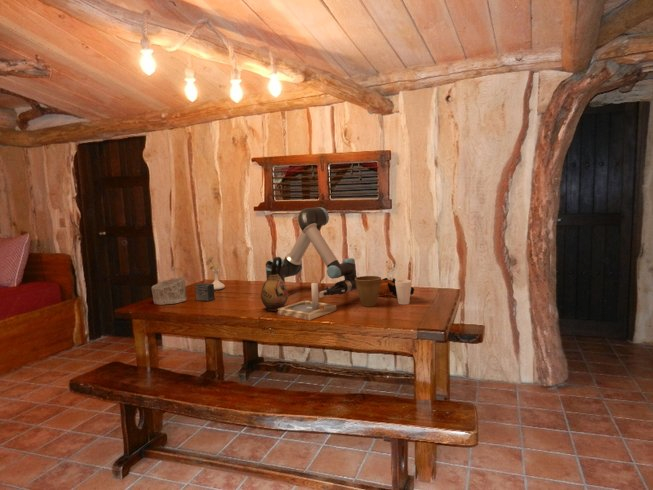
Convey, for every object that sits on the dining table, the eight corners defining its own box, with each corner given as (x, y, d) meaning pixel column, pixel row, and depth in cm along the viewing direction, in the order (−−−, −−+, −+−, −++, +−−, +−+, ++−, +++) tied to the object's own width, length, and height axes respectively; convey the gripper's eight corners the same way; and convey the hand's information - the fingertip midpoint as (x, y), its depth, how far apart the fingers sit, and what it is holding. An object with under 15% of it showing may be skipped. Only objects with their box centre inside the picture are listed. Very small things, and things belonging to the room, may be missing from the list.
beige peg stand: (287, 313, 244) (285, 284, 242) (303, 306, 257) (301, 279, 256) (311, 316, 236) (310, 286, 234) (327, 309, 249) (325, 281, 248)
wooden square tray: (277, 314, 245) (277, 305, 244) (305, 305, 263) (304, 296, 262) (309, 320, 231) (309, 310, 230) (336, 310, 249) (336, 301, 248)
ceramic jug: (277, 313, 246) (274, 259, 243) (256, 310, 254) (253, 258, 251) (295, 306, 260) (293, 255, 257) (274, 304, 268) (272, 254, 265)
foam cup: (413, 301, 262) (412, 279, 260) (410, 305, 253) (410, 282, 252) (396, 300, 265) (396, 279, 263) (394, 304, 256) (393, 282, 255)
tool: (403, 311, 267) (411, 290, 262) (372, 294, 278) (379, 273, 273) (409, 308, 274) (417, 287, 269) (378, 291, 285) (385, 270, 280)
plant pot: (383, 302, 263) (382, 275, 261) (380, 308, 248) (379, 280, 247) (357, 301, 266) (357, 275, 264) (353, 308, 252) (352, 280, 250)
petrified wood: (148, 304, 279) (146, 281, 278) (167, 298, 295) (165, 276, 294) (173, 306, 273) (171, 282, 271) (191, 299, 289) (189, 276, 287)
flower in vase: (217, 287, 327) (215, 253, 324) (228, 288, 320) (226, 254, 318) (203, 290, 317) (201, 255, 314) (214, 292, 310) (211, 256, 307)
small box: (215, 299, 287) (214, 283, 286) (208, 301, 281) (207, 285, 280) (202, 298, 291) (201, 282, 290) (195, 300, 285) (194, 284, 284)
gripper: (352, 294, 259) (329, 303, 240) (333, 292, 266) (310, 300, 247) (351, 281, 258) (328, 289, 239) (333, 280, 266) (309, 287, 246)
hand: (319, 295), depth 243 cm, fingers closed
